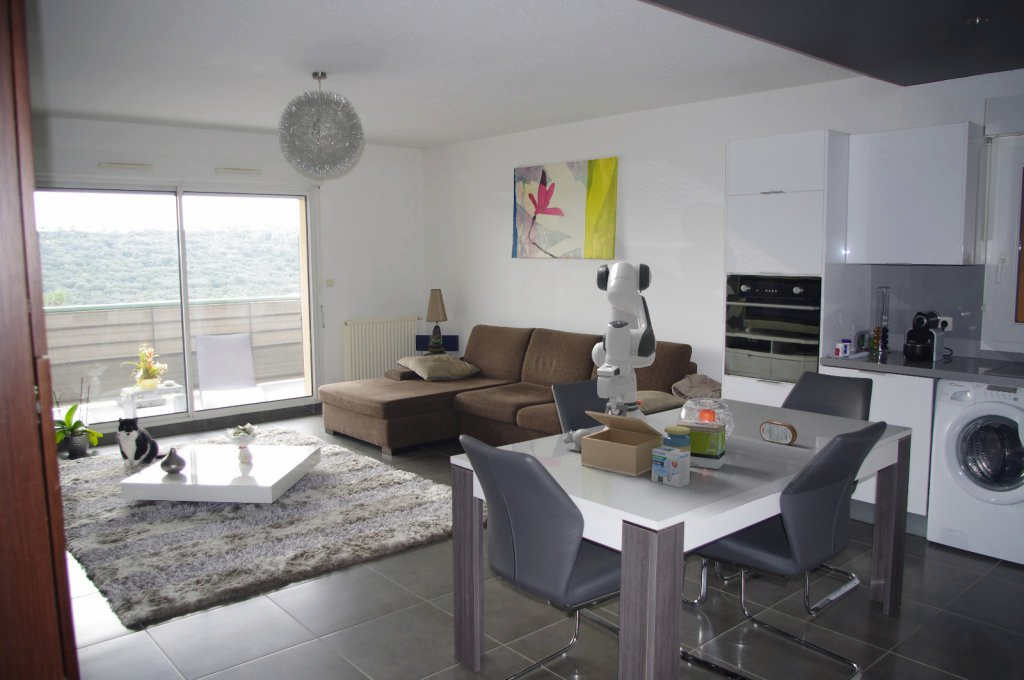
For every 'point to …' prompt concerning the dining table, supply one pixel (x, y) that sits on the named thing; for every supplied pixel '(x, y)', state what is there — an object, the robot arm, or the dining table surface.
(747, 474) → the dining table surface
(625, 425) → the carton flap
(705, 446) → the tea box
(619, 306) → the robot arm
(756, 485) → the dining table surface
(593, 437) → the carton
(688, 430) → the jar
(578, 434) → the toy rhinoceros
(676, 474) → the light bulb box
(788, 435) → the tin
